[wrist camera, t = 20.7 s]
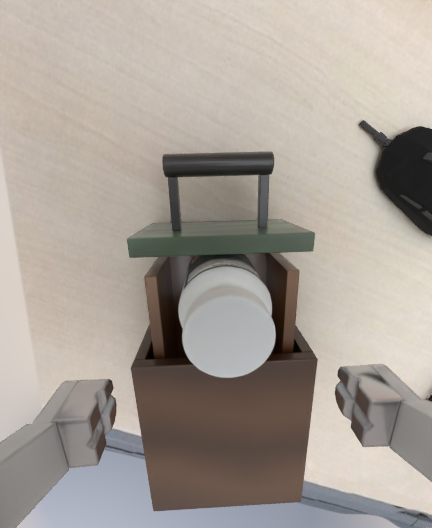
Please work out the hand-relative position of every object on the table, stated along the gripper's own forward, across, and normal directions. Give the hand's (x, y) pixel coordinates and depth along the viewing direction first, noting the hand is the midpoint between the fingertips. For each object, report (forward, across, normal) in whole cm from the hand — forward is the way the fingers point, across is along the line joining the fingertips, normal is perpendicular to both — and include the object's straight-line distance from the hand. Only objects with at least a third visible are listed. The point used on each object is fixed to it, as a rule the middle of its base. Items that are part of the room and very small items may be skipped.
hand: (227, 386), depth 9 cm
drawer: (+14, -1, 0) cm, 14 cm away
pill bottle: (+13, -1, 0) cm, 13 cm away
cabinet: (+15, -1, +12) cm, 19 cm away
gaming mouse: (+15, -18, -7) cm, 25 cm away
